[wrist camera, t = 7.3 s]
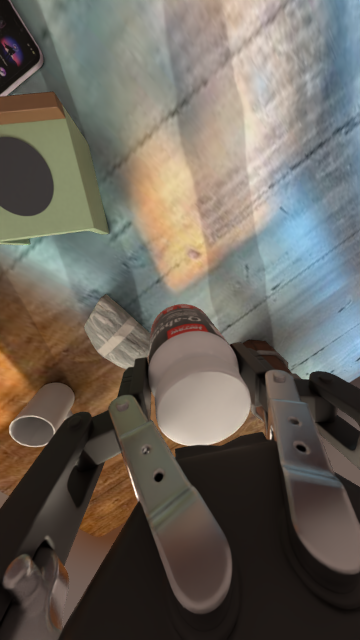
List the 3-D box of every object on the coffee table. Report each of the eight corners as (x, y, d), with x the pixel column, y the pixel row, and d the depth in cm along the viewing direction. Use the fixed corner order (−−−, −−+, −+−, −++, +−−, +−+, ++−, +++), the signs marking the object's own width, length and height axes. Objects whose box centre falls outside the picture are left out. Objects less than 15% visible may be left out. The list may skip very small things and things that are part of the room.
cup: (58, 375, 40) (31, 408, 32) (91, 405, 43) (75, 442, 35) (31, 393, 41) (-1, 429, 32) (66, 421, 44) (45, 461, 36)
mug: (216, 356, 43) (245, 409, 28) (265, 329, 42) (320, 370, 28) (243, 403, 48) (278, 466, 34) (287, 380, 47) (342, 436, 33)
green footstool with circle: (109, 233, 32) (89, 226, 23) (23, 245, 32) (-34, 242, 22) (88, 144, 28) (53, 90, 19) (-12, 154, 27) (-101, 104, 18)
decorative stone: (162, 333, 39) (162, 347, 34) (129, 366, 41) (125, 385, 36) (109, 290, 35) (99, 298, 30) (75, 329, 37) (61, 343, 32)
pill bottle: (185, 289, 17) (221, 332, 8) (221, 333, 19) (283, 410, 10) (137, 329, 18) (118, 411, 9) (176, 368, 20) (194, 470, 10)
